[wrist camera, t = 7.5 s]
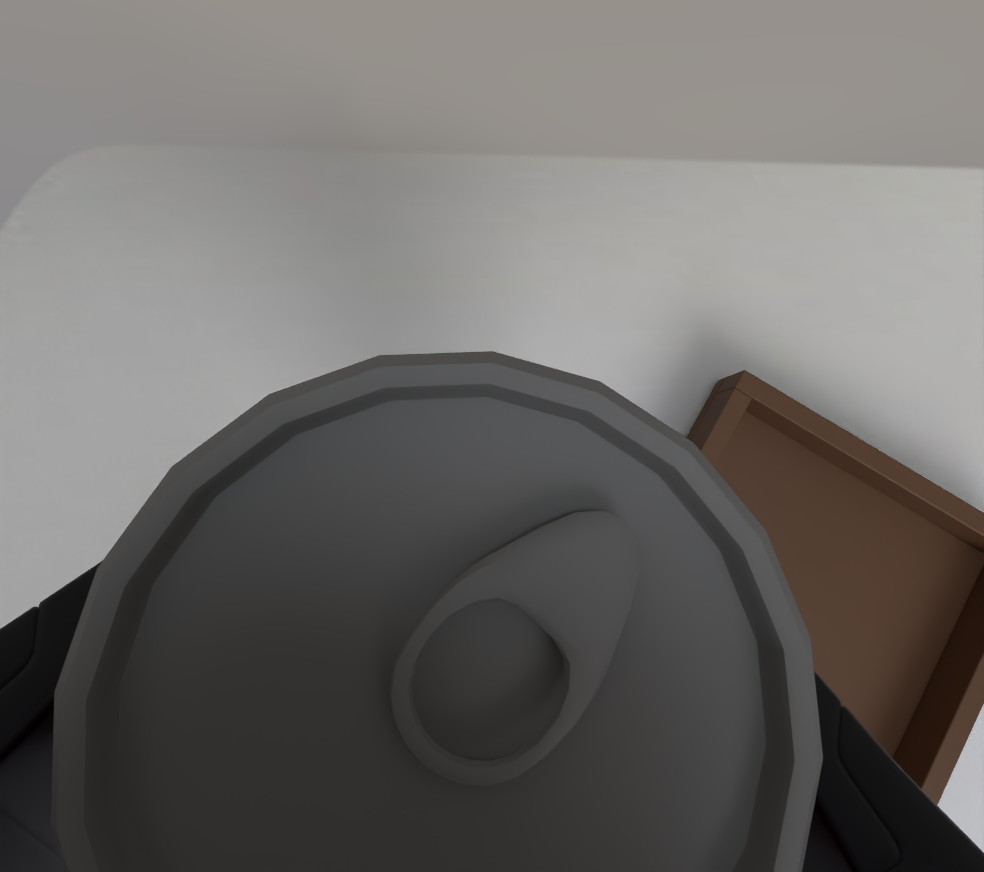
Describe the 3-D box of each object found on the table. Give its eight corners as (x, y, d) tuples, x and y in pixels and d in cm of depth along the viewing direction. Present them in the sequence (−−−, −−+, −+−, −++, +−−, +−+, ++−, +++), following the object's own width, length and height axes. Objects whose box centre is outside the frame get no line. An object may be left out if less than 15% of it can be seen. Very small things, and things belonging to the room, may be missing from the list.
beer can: (615, 540, 16) (1068, 684, 4) (465, 717, 15) (483, 1520, 3) (450, 390, 16) (424, 111, 4) (293, 558, 15) (-270, 789, 4)
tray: (843, 876, 21) (885, 919, 19) (542, 698, 21) (551, 722, 19) (998, 547, 23) (1052, 553, 20) (718, 379, 23) (744, 369, 20)
